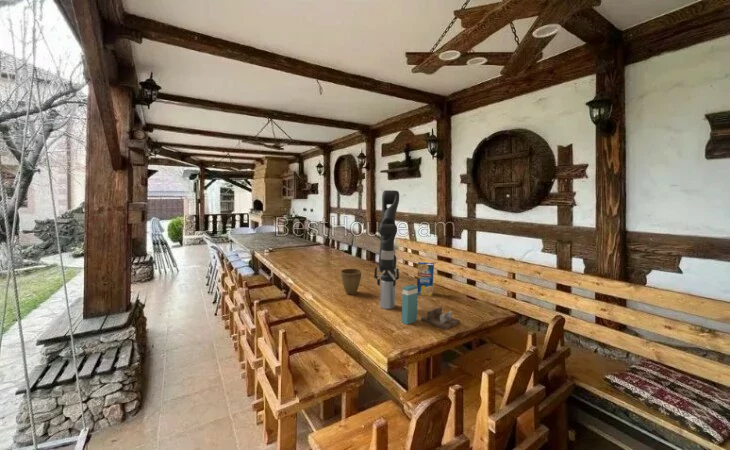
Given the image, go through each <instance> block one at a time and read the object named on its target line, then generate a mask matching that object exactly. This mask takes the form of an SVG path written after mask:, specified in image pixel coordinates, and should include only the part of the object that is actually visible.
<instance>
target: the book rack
mask: <svg viewBox="0 0 730 450" xmlns="http://www.w3.org/2000/svg"><path fill="white" fill-rule="evenodd" d="M426 312H427V313H426V315H425V316H422V317H421V318H420V321H421V322H423V323H426V324H429V325H431V326H433V327H435V328H439V329H441V330H443V331H446V330H448V329H450V328H452V327H455V326H457V325H459V324H460V323H461V320H459V319H457V318H453V317H452V316H453V311H452V310H450V311H447V312H445V313H443V306H438V307H436V308H433V309H430V310H429V311H426Z"/></svg>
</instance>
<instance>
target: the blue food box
mask: <svg viewBox="0 0 730 450" xmlns="http://www.w3.org/2000/svg"><path fill="white" fill-rule="evenodd" d="M434 269H435V262H424V261H423V262H422V261H418V262H417V271H416V272H417V273H416V274H417V275H416V279H417V280H416V286H418V296H430V297H433V294H434V271H435V270H434Z"/></svg>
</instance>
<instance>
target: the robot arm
mask: <svg viewBox="0 0 730 450" xmlns="http://www.w3.org/2000/svg"><path fill="white" fill-rule="evenodd" d="M399 204H400V193H399V191H398V190H387V189H386V190H383V191H382V194H381V208H382V209H381V223H380V225H379V227H378V234H379V235H380V245H379V253H378V254H379V256H378V267H375V268H374V275H373V276H374V279H376V280H377V282H376V284H377V285H378V287H379V286H380V297H379V298H380V300H379V302H380V303H379V306H380V308H382V309H384V310H393V309H394V308H395V307H396V284H397V280H399V279H400V271H399V268H397V255H396V254H394V252H395V251H394V248H395V247H394V245H395V244H394V243H395V238H396V236H397V232H398V227H397V225H396V215H397V210H398V206H399ZM388 205H390V206H389V207H388ZM378 272H380V273H379V275H378Z"/></svg>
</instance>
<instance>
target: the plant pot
mask: <svg viewBox="0 0 730 450" xmlns="http://www.w3.org/2000/svg"><path fill="white" fill-rule="evenodd" d="M340 276H341V277H340V278H341V282H342V285H343V289H344V291H345V294H347V295H355V294H357V293H358V289H359V286H360V282H361V279H362V270H361V269H358V268H343V269H342V270H340Z"/></svg>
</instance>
